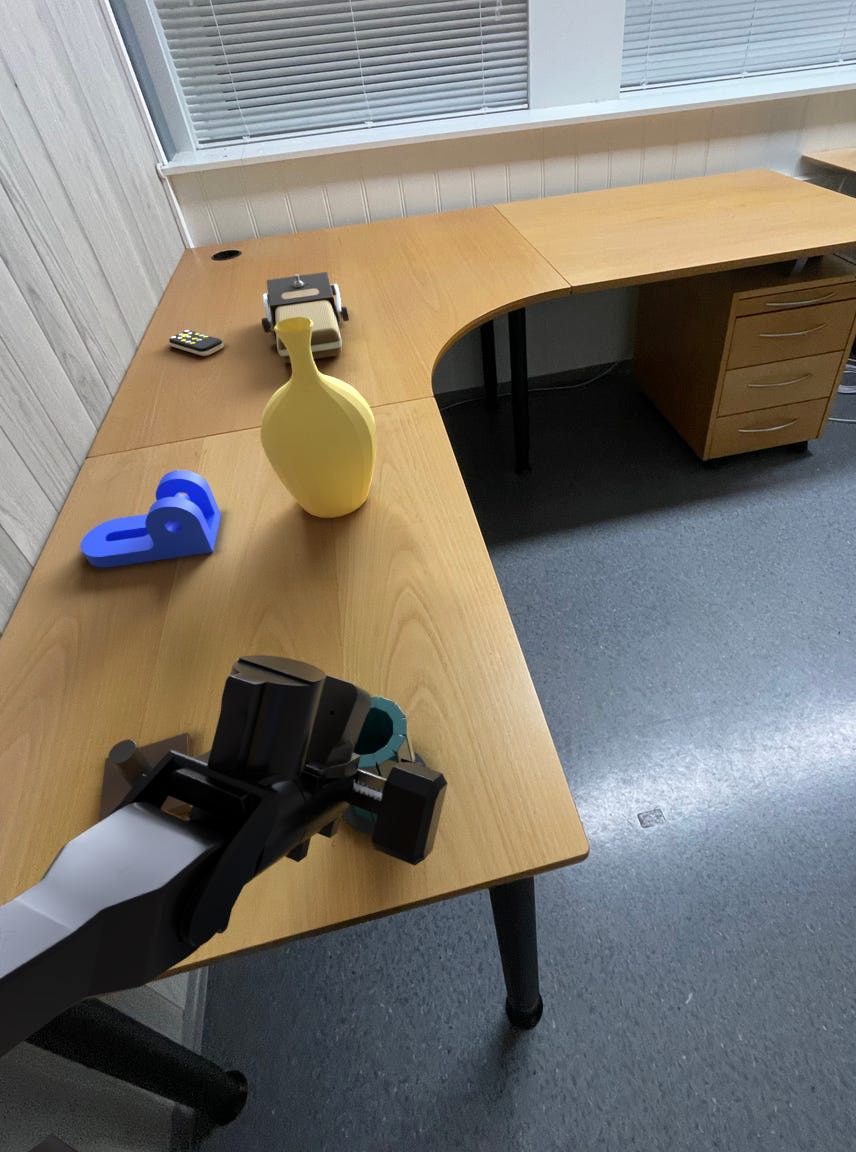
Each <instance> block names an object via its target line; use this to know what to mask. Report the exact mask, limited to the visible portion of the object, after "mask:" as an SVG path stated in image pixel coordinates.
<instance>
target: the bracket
mask: <svg viewBox="0 0 856 1152" xmlns="http://www.w3.org/2000/svg"><path fill="white" fill-rule="evenodd" d="M158 482H159V483H158V485H157V488H156V490H155V502H153V503H152V504H151V505H150V507H149V510H148V512H147V513H146V514H145V513H144V514H138V515H131V516H123V517H117V518H114V519H110V520H107V521H104V522H103V523H102V522H101V523H100V524H97V526H94V527H93V528H92V529H90V530H89V531H87V533H86V534H85V535H84V536H83V538H82V540H81V542H80V550H81V552H82V553H83V555H84V557H85V558H86V559H87V561H88V563H89V564H90V565H91V566H94V567H97V568H113V567H114V568H115V567H119V566H121V567H122V566H127V565H133V564H141V563H146V562H149V563H150V562H154V561H155V562H156V561H163V560H167V559H175V558H181V557H189V556H196V555H203V554H210V553H213V552H214V549H215V544H216V541H217V536H218V531H219V527H220V522H221V518H222V514H221V511H220V509H219V506H218V503H217V500H216V499H215V496H214V494H213V491H212V489H211V487H210V484H209V483H208V481H207V480H206V479H205V477H202V476H201V475H200V474H199V473H196V472H193V471H191V470H184V469H177V470H172V471H169V472H167V473H165V474H164V475H163V476H162V477H161V478H160V480H159V481H158ZM183 493H184V494H183Z"/></svg>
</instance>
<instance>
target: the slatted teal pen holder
mask: <svg viewBox="0 0 856 1152" xmlns="http://www.w3.org/2000/svg"><path fill="white" fill-rule="evenodd" d="M371 699H372V704H371V707H370V710H369V712H368V713H367V715H366V718H365V721H364V723H363V726H362V729H361V731H360V734H359V737H358V739H357V742H356V744H355V746H354V749H353V753H355V754H358V755H361V757H360V762H359V766H358V769H361V770H364V771H366V772H369V773H372V774H375V775H377V776H380V777H383V778H385V779H387V777H388V775H389V773H390V771H391V769H392V767H393V766H394V765H395V764H397V763H398V762H400V761H401V758H403V759H406V760H409V761H412V762H415V763H416V760H415V756H414V751H415V750H414V746H413V741H412V738H411V733H410V732H411V731H410V728H409V724H408V719H407V715H406V714H405V712H403V710H402V709H401V707H400V705H399V704H398V703H396V702H395V701H393V700H390V699H388V698H386V697H383V696H377V695H375V696H371ZM354 781H355V780H354ZM358 783H359V781H358ZM363 785H364V783H363ZM367 786H368V785H367ZM371 788H373V786H372V787H371ZM381 791H382V790H381ZM352 806H353V805H352ZM353 808H354V810H355V812H356V813H358V815H360V816H362V817H364V818H366V819H368V820H370V821H373V819H374V821H375V822H376V819H377V814H374V813H372V812H369V811H366V810H364V809H361V808H359V807H356V806H353Z"/></svg>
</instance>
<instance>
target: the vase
mask: <svg viewBox="0 0 856 1152" xmlns="http://www.w3.org/2000/svg"><path fill="white" fill-rule="evenodd" d="M274 330H275V331H274V333H275V334H276V333H277V335H278V336H279V338H280V339H281V340H282V342H283V343H284V345H285V346H286V348H287V350H288V353H289V356H290V360H291V363H290V364H291V365H290V366H291V376H290V379H289V380H288V381H287V382H286V383H285V384H283V385H282V386H281V387H280V388H278V389H277V390H276V391H275V392H274V394H273V395H271V397H270V399H269V400H268V402H267V404H266V405H265V407H264V409H263V412H262V416H261V423H260V440H261V445H262V449H263V452H264V454H265V456H266V458H267V460H268V462H269V463H270V465H271V467H272V468H273V471H274V472H275V474H276V476H277V478H278V479H279V480H280V482H281V483H282V485H283V486H284V487H285V489H286V490H287V491H288V492H289V494H290V495H291V496H292V497H293V499H294V500H295V501H296V503H298V504H299V505H300V506H301V508H302V509H303V511H305V512H306V513H308V514H310V515H311V516H313V517H318V518H322V519H323V518H325V519H332V518H338V517H343V516H345V515H348V514H351V513H353V512H355V511H356V510H357V509H359V508H361V506H363V504H364V503H365V502H366V501H367V499H368V496H369V493H370V489H371V485H372V481H373V476H374V471H375V466H376V460H377V450H378V447H377V446H378V437H377V428H376V422H375V418H374V414H373V412H372V411H373V410H372V409H371V406H370V405H369V404H368V402H367V401H366V399H365V398H364V397H363V396H362V395H361V394H360V393H359V392H358V391H357V389H356V388H354V387H353V386H351V384H348V383H346V382H344V381H343V380H341V379H338V378H336V377H333V376H330V375H325V374H324V373H321V372H320V371H319V370H318V368H317V365H316V362H315V359H313V356H312V352H311V336H312V330H313V322H312V321H311V320H310V319H307V318H303V317H294V318H289V319H285V320H282V321H280V322H279V323H277V324H276V326H275V327H274Z"/></svg>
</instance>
